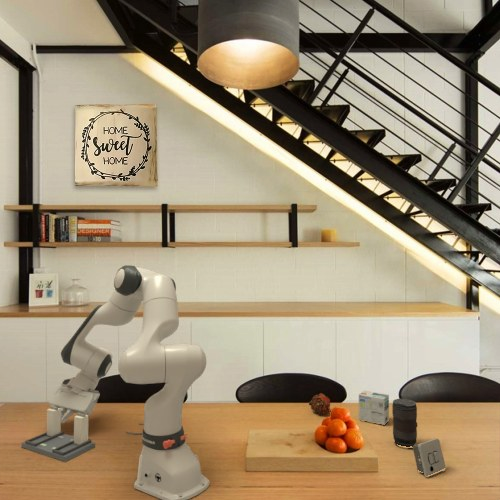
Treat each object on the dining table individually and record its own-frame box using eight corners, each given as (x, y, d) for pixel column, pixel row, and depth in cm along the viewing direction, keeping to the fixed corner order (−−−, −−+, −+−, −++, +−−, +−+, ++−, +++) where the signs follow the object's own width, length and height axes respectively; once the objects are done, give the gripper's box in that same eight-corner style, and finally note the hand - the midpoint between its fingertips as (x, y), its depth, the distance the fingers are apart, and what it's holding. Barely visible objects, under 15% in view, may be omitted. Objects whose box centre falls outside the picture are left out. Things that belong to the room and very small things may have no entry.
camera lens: (396, 437, 154) (396, 396, 154) (419, 443, 149) (419, 401, 150) (389, 445, 148) (389, 402, 148) (413, 452, 143) (413, 407, 143)
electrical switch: (427, 479, 126) (424, 446, 126) (412, 473, 130) (410, 441, 131) (446, 471, 130) (444, 439, 131) (432, 465, 135) (429, 435, 136)
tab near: (88, 441, 145) (88, 413, 146) (80, 445, 143) (81, 416, 143) (80, 439, 147) (81, 411, 147) (73, 443, 144) (74, 414, 145)
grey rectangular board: (95, 447, 145) (95, 440, 145) (65, 461, 135) (65, 454, 135) (52, 434, 155) (52, 428, 156) (21, 447, 145) (21, 440, 145)
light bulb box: (389, 421, 170) (389, 394, 170) (385, 426, 165) (385, 398, 165) (363, 415, 176) (363, 389, 176) (358, 420, 170) (358, 393, 171)
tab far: (60, 433, 152) (60, 406, 152) (53, 436, 149) (53, 409, 149) (54, 431, 154) (54, 405, 154) (46, 434, 151) (47, 407, 151)
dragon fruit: (321, 422, 172) (316, 415, 184) (337, 409, 173) (331, 403, 185) (308, 404, 174) (304, 399, 185) (325, 392, 174) (320, 387, 186)
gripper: (106, 395, 160) (85, 431, 151) (69, 387, 169) (47, 420, 160) (97, 387, 156) (74, 422, 147) (59, 379, 165) (36, 412, 157)
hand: (59, 421), depth 154 cm, fingers closed
